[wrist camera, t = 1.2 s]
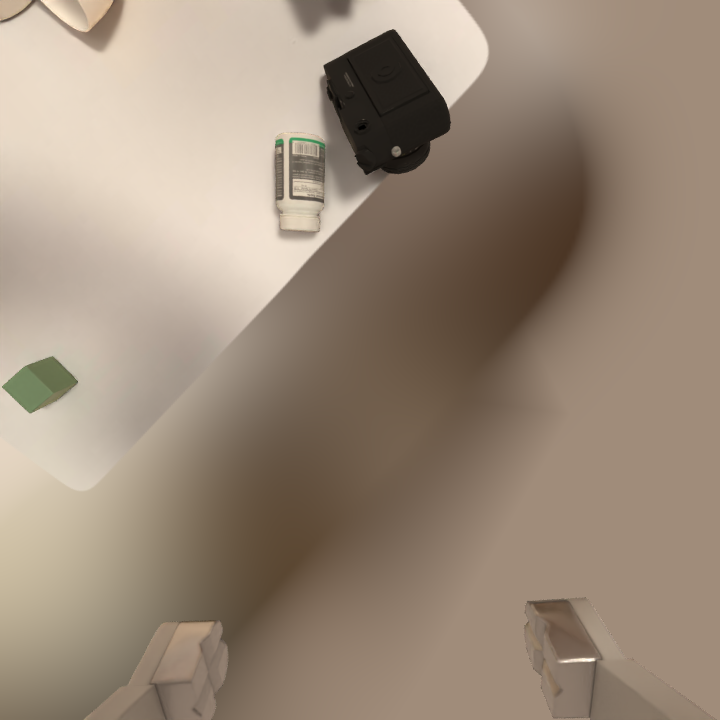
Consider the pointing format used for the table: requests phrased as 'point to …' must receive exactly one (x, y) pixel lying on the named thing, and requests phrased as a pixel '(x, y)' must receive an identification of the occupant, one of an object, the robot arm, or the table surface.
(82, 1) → the cup
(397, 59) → the camera
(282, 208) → the pill bottle
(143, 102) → the table surface
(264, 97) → the table surface
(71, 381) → the block sage
